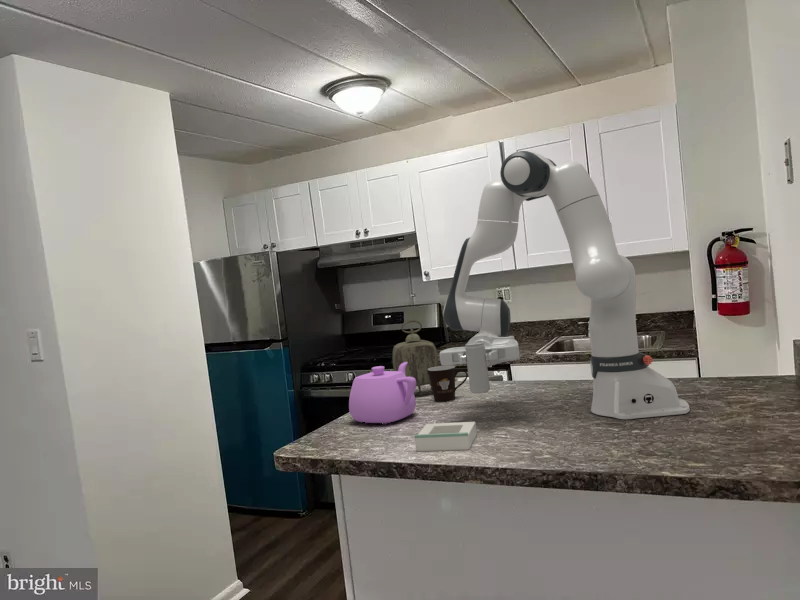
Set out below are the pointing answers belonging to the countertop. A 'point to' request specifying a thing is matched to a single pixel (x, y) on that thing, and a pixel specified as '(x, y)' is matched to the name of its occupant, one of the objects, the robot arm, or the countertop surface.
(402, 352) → the tabletop clock
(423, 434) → the socket block
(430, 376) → the coffee mug
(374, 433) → the countertop surface
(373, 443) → the countertop surface
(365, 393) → the teapot
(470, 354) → the beverage can
